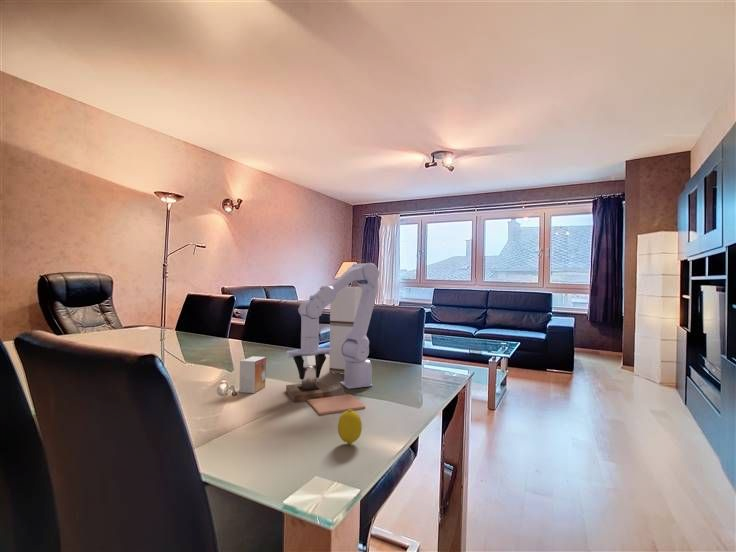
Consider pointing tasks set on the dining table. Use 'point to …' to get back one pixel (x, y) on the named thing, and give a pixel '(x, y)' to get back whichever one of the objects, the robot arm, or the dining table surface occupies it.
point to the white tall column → (342, 324)
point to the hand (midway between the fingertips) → (309, 377)
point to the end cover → (309, 376)
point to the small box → (252, 374)
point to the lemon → (349, 426)
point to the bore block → (307, 392)
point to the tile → (335, 404)
